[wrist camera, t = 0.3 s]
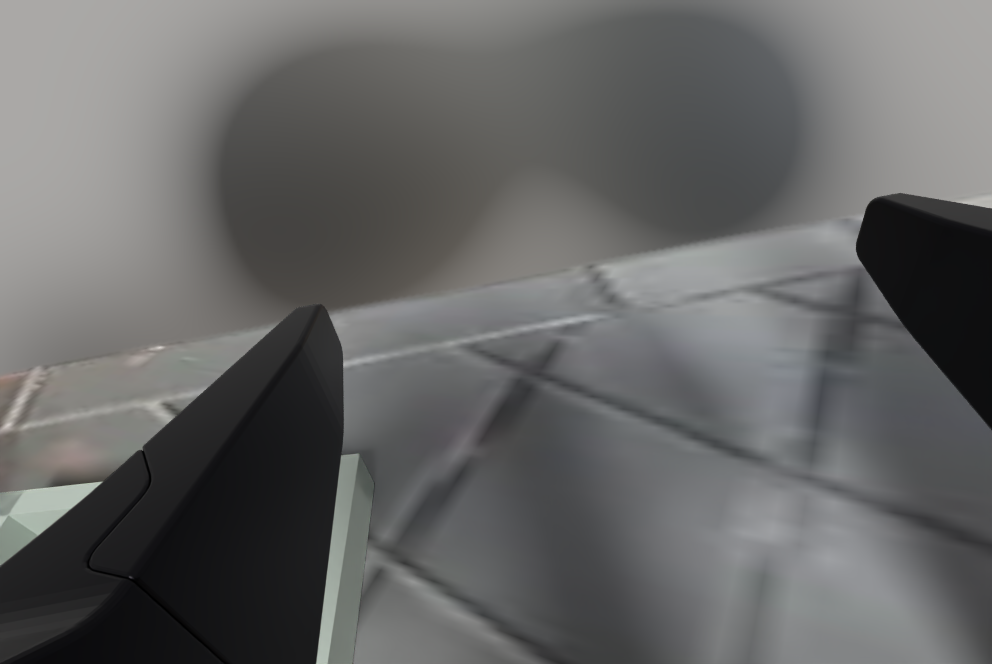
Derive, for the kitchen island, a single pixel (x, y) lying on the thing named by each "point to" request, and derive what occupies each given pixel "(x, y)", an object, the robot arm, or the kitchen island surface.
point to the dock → (25, 514)
